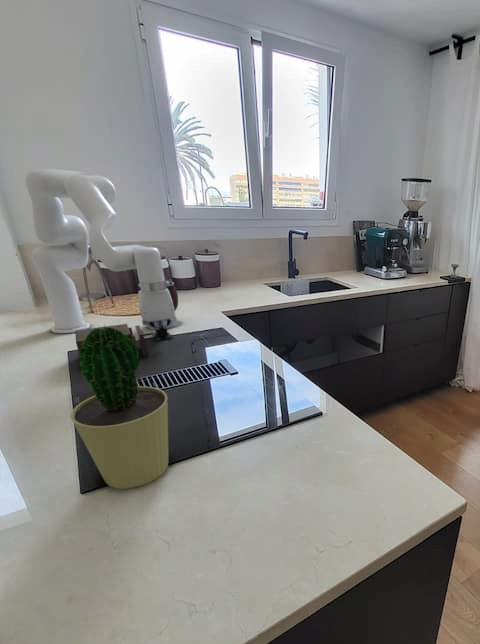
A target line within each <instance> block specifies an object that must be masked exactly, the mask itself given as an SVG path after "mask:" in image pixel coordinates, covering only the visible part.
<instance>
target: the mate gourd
mask: <svg viewBox="0 0 480 644" xmlns="http://www.w3.org/2000/svg"><path fill="white" fill-rule="evenodd" d="M173 280H174V279H173V278H169V279H166V281H167V282H170V286H167V287H166V289H168V290H169V292H170V295H171V298H172V302H173V306H174V310H175V311H176V310H177V308H178V306H179V296H178V291H177V287H176V285H175V282H173ZM139 291H141V288H140V283H139V284H138V292H139ZM180 325H181V322H180V321H179V320H178V319H177V320H176V321H174V322H171V323H170V324H169V325H168V326H167V330H169V329H170V330H171V329H174V328H177V327H179V326H180ZM146 326H147V328H148V329H150V330H154V327H152V326H151V325H146Z"/></svg>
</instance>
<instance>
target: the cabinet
mask: <svg viewBox="0 0 480 644" xmlns="http://www.w3.org/2000/svg"><path fill="white" fill-rule="evenodd" d="M120 326H121V327H120ZM104 327H107V328H109V327H110V328H114V329H118V328H120V329H118V330H119V331H121V332H123V334H124V335H125V334H126V335H127V334H128V333H129V334H128V335H127V336H128V338H129V339H130V340H131V338H132V335H131V332H130V330H129V328H130V327H129V326H128V323H122V324H114V325H107V326H106V325H105V326H99V327H98V326H97V327H91V328H90V327H89V328H88V329H82V330H75V332H74V334H75V344H76V347H77V348H76V349H78V350H79V351H78V350H77V351H78V356H80V354H79V353H80V351H81V348H82V345H83V343H85V339H86V337H87V336H88V334H89V332H92V331H93V330H94V329H97V328H99V329H101V328H103V329H104ZM88 330H89V331H88ZM124 332H125V333H124ZM126 335H125V336H126ZM81 339H82V340H83V341H84V342H82V340H81ZM76 341H77V342H76ZM80 341H81V342H82V343H81V342H80ZM131 341H132V340H131ZM79 343H80V344H81V345H80V344H79Z"/></svg>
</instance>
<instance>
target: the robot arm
mask: <svg viewBox="0 0 480 644" xmlns="http://www.w3.org/2000/svg"><path fill="white" fill-rule="evenodd" d="M25 186H26V188H27V189H26V190H27V192H28V195H29V197H30V200H31V206H32V207H31V208H32V217H33V218H32V219H33V228H34V234H35V237H36V238H37V240H38V241H39V242H41V243H43V244H47V245H41V246H37V247H36V248H34V249H33V250H32V251H31V254H30V257H31V261H32V263H33V265H34V267H35V269H36V272H37V273H38V275H39V277H40V281H41V283H42V286H43V289H44V292H45V295H46V300H47V302H48V306H49V310H50V312H51V316H52V319H53V323H54V325H53V326H51V328H50V330H51V332H52V333H55V334H70V333H71V334H72V333H75V330H82V329H90V327H91V323H90V322H89V321H85V318H84V315H83V311H82V307H81V303H80V300H79V296H78V292H77V288H76V285H75V282H74V281H73V280H72V278H71V277H70V276H69V275H67V274H66V273H65V272H68V271H74V270H81V269H83V268H84V267H85V268H87V267H86V265H87V264H88V244H89V245H90V248H91V250H92V251H93V253H94V254H95V256H96V257H97V259H99V261H100V262H101V264H102V265H103V266H104V267H106V269H108V270H109V271H110V272H124V271H125V272H126V271H132V270H136V273H137V277H138V283H139V284H140V288H141V291H139V290H138V294H137V295H138V297H137V298H138V305H139V312H140V313H139V314H140V317H141V324H142V326H147V325H151V326H152V327H154V328H155V329H156V331H157V336H158V338H160V339H161V340H160V341H161V342H162V341H167V340H166V337H167V332H168V329H167V330H166V328H167V326H168V325H169V324H170V323H171V322H174V321H176V320H178V319H177V317H176V310H174V306H173V302H172V298H171V295H170V292H169V290H168V289H166V287H167V286H170V282H167V280H166V279H165V274H164V269H163V263H162V256H161V252H160V250H159V249H158V248H157V247H153V246H144V245H140V244H128V245H118V246H112V245H111V243H110V242H109V241H108V240H107V238H106V237H105V235H104V232H105V231H107V230H109V229H110V228H111V227H113V226H114V225H115V224H116V223H117V220H118V215H117V213H116V211H115V210H114V209H113V208H112V206H111V205H110V204H112V203H114V202H115V201H116V199H117V190H116V187H115V186H114V184H113V183H112V182H111V181H110V180H109V179H108V178H107V177H105V176H102V175H97V174H93V173H89V172H84V171H78V170H66V169H53V168H35V169H30V170H29V171H27V173H26V175H25ZM60 198H61V199H64V198H65V199H71V201H72V202H73V203H74V205H75V206H76V207H77V209H78V210H79V212H80V213H81V214H82V215H83V217H84V218H85V220H86V221H87V223H88V224H89V225H90V227H89V231H88V229H87V226H86V224H85V222H84V221H83V220H82V219H81V218H80V217H79V216H76V215H73V214H72V215H71V214H66V215H65V214H64V213H65V212H64V211H65V209H64V204H63V203H62V201H61V199H60ZM48 244H49V245H48ZM160 320H162V326H161V328H160V326H159V325H158V322H157V321H160ZM163 339H164V340H163Z"/></svg>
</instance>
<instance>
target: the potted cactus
mask: <svg viewBox="0 0 480 644" xmlns="http://www.w3.org/2000/svg"><path fill="white" fill-rule="evenodd" d="M103 325H104V326H103V327H104V329H103V328H101V329H99V328H98V327H100V326H99V325H97V327H96V328H97V329H94V330H93V331H92V332H89V334H88V336H87V337H86V339H85V343H83V345H82V348H81V351H80V353H79V350H78V348H76V350H77V351H78V355H79V354H80V355H79V359H78V358H77V359H76V360H77V361H78V362H79V365H80V368H81V375H80V376H79V377H82V376H83V377H84V380H86V381H85V382H86V383H89V384H87V387H86V389H87V388H88V387H89V389H88V390H90V389H92V391H90V392H89V393H87V394H94V395H92V396H91V397H89V398H86V399H85V400H83V401H81V402H80V403H78V404H77V405H76V406H75V407H74V408H73V409H72V411H71V412H70V419H71V422H73V425H74V427H75V429H76V430H77V432H78V434H79V436H80V438H81V440H82V441H83V443H84V445H85V447H86V449H87V451H88V453H89V455H90V456H91V458H92V460H93V462H94V464H95V466H96V468H97V469H98V471H99V473H100V475H101V477H102V479H103V481H104V483H106V484H107V486H109V487H111V488H113V489H119V490H124V489H125V490H126V489H133V488H138V487H141V486H144V485H147V484H150V483H152V482H153V481H155V480H157V479H158V478H159V477H161V476H162V475H163V474H164V473H165V472H166V470H167V469H168V466H169V460H170V459H169V457H170V455H169V409H168V407H169V405H168V403H169V402H168V394H167V393H166V392H165V391H164V390H162V389H160V388H158V387H153V386H145V385H144V386H143V385H140V386H139V383H138V381H139V380H140V378H138V379H137V374H138V373H141V372H140V371H139V370H137V369H139V367H140V366H141V365H142V364H143V365H144V362H142V361H140V360H139V358H140V357H142V355H140V353H139V352H140V351H139V349H138V350H137V348H138V346H139V342H138V340H136V343H137V347H136V345H135V344H134V343H133V340H132V338H131V340H132V341H131V340H130V339H129V338H128V336H127V335H128V334H129V333H128V334H127V335H126V334H125V335H126V336H125V335H124V334H123V332H121V331H119V330H118V329H120V328H118V329H114V328H110V327H109V328H107V327H106V324H103ZM120 327H121V326H120ZM88 331H89V330H88ZM124 333H125V332H124ZM81 340H82V339H81ZM76 342H77V341H76V340H75V343H76ZM80 342H81V341H80ZM82 342H84V341H83V340H82ZM82 342H81V343H82ZM79 344H80V343H79ZM140 344H141V343H140ZM80 345H81V344H80ZM137 351H138V352H137ZM138 353H139V355H138ZM137 371H138V372H137Z"/></svg>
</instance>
